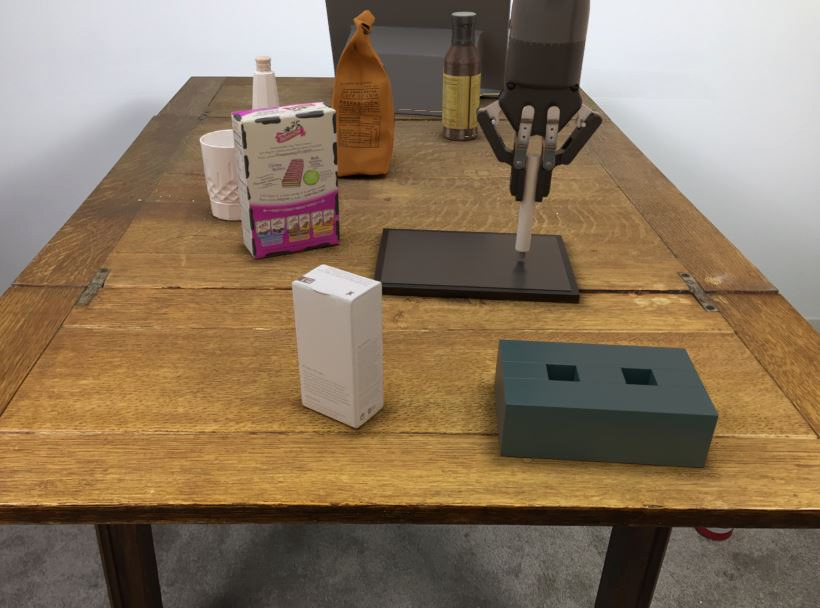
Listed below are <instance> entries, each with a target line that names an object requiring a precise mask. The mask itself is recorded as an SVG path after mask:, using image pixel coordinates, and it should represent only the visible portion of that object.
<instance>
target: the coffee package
mask: <svg viewBox="0 0 820 608" xmlns="http://www.w3.org/2000/svg"><path fill="white" fill-rule="evenodd" d="M374 21H375V17H374V16H373V15H372V14H371V13H370V11H369V10H366V11H364V12H363V13H362V14H360V15H359V16H357V17H356V18H354V23H355V25H356V27H357V30H356V32H355V34H354V35H353V37H352V38H351V40H350V41H349V43H348V45H347V46H346V48H345V49H344V51H343V53H342V55H341V57H340V60H339V63H338V65H337V70H336V76H335V75H334V82H333V87H332V92H331V101H330V107H331V108H332V109H334V110H336V134H337V163H338V178H341V177H346V176H348V177H349V176H358V175H365V176H366V175H367V176H377V175H382V174H384V175H385V174H387V173H388V172H389V170H390V166H391V161H392V157H393V150H394V141H395V125H396V124H395V123H396V122H395V121H396V119H395V118H396V117H395V113H394V106H393V97H392V89H391V83H390V80H389V77H388V74H387V71H386V69H385V67H384V65H383V63H382V61H381V59H380V58H379V56H378V55H377V53H376V52H375V50H374V49H373V48H372V44H371V41H370V37H369V34H370V33H371V32H372V29H371V25H372V24H373V23H374Z"/></svg>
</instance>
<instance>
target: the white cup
mask: <svg viewBox="0 0 820 608" xmlns="http://www.w3.org/2000/svg"><path fill="white" fill-rule="evenodd" d="M199 145H200V151H201V158H202V166H203V172H204V178H205V184H206V188H207V195H208V196H209V203H210V209H211V213H212V216H214V217H215V218H217V219H219V220H224V221H242V220H241V210H240V199H239V190H238V178H237V168H236V158H235V148H234V138H233V128H231V129H220V130H214V131H210V132H208V133H205V134H203V135H201V137H200V138H199Z"/></svg>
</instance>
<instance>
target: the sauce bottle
mask: <svg viewBox="0 0 820 608" xmlns="http://www.w3.org/2000/svg"><path fill="white" fill-rule="evenodd" d="M476 22H477V21H476V13H473V12H456V13H452V15H451V23H452V38H451V44H452V45H451V46H450V48H449V50H448V51H447V53H446V55H445V58H444V68H443V108H442V116H441V125H442V135H443V137H444V138H445V139H448V140H451V141H458V142H459V141H470V140H472V139H474V138H476V137H477V136H478V126H479V123H478V121H477V117H476V110H477V108H478V107H480V99H481V97H480V79H481V72H480V64H481V58H480V54H479V52H478V50H477V48H476V47H475V24H476ZM475 134H476V135H475ZM472 135H473V136H472ZM465 136H469V137H465Z"/></svg>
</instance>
